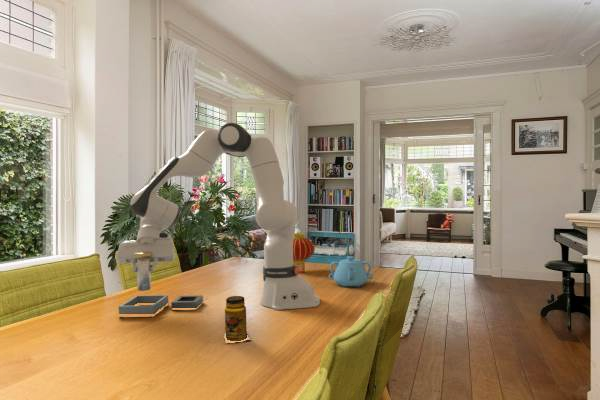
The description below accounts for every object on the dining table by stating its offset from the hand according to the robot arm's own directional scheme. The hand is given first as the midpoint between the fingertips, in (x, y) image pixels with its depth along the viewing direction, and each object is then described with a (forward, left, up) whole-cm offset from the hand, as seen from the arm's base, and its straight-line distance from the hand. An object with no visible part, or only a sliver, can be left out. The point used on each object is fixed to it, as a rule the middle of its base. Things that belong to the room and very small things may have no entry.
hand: (143, 270), depth 139 cm
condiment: (-38, +25, -15) cm, 48 cm away
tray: (0, -1, -15) cm, 15 cm away
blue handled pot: (-78, -35, -15) cm, 87 cm away
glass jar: (0, -1, -7) cm, 7 cm away
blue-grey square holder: (-14, -6, -15) cm, 21 cm away
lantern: (-54, -65, -15) cm, 85 cm away
